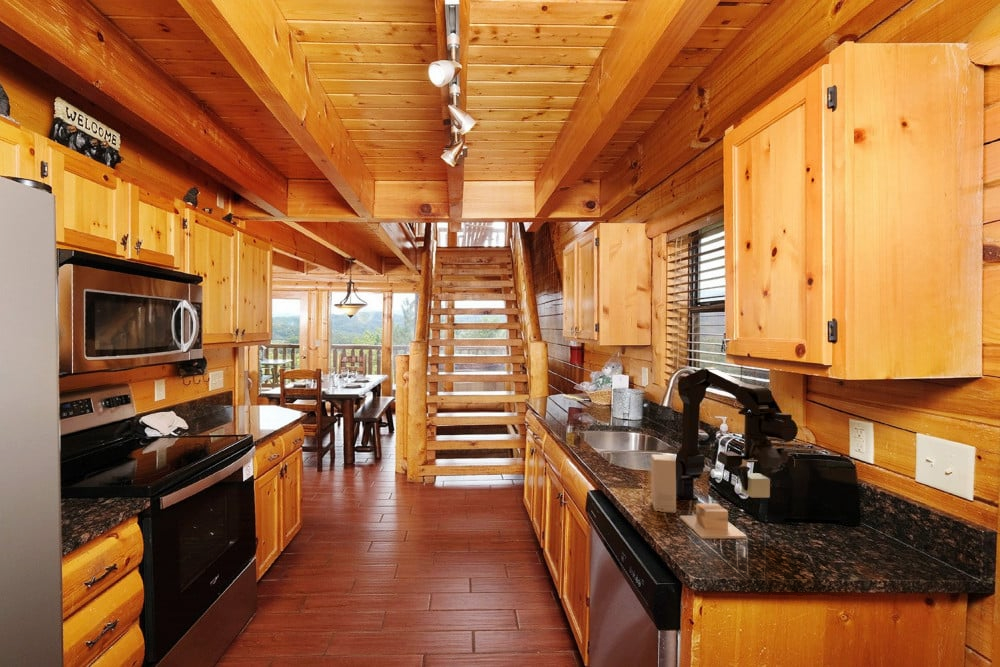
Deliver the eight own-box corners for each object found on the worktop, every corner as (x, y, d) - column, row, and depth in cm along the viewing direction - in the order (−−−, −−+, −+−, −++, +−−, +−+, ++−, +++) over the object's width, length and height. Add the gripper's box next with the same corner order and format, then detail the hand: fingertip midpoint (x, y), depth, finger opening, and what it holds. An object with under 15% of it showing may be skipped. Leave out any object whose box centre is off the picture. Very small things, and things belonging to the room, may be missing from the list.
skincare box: (676, 513, 142) (677, 461, 142) (653, 511, 144) (653, 459, 144) (672, 503, 151) (672, 454, 151) (650, 502, 152) (650, 453, 152)
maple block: (696, 521, 135) (696, 503, 135) (717, 521, 135) (717, 503, 135) (705, 529, 129) (706, 511, 129) (727, 529, 129) (728, 511, 129)
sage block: (741, 491, 133) (741, 473, 133) (758, 491, 134) (759, 473, 133) (751, 497, 128) (751, 478, 128) (769, 497, 129) (770, 478, 128)
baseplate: (679, 517, 139) (679, 515, 139) (720, 517, 140) (720, 515, 140) (701, 538, 125) (701, 536, 125) (746, 538, 126) (746, 536, 126)
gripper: (738, 439, 122) (737, 500, 123) (809, 440, 123) (808, 500, 123) (717, 430, 134) (716, 486, 134) (782, 431, 134) (781, 486, 134)
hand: (755, 490), depth 131 cm, fingers closed on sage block, 5 cm apart
